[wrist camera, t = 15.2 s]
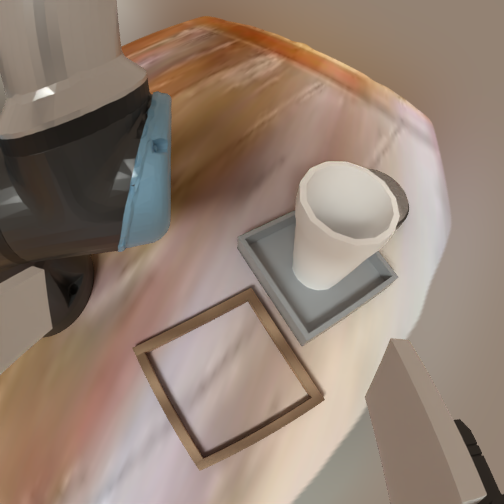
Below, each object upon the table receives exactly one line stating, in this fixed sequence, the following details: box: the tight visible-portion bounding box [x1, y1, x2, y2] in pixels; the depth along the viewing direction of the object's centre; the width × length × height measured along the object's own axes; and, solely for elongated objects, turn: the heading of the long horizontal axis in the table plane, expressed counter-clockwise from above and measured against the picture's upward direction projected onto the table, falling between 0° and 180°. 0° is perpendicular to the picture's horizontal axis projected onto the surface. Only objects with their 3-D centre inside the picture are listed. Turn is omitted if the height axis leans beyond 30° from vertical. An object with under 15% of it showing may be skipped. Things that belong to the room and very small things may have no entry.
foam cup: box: [292, 161, 400, 290], centre depth 32 cm, size 10×9×13 cm
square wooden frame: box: [133, 288, 325, 471], centre depth 30 cm, size 15×15×1 cm
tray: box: [237, 210, 398, 346], centre depth 37 cm, size 14×14×3 cm
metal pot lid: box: [368, 169, 409, 230], centre depth 42 cm, size 11×11×4 cm
